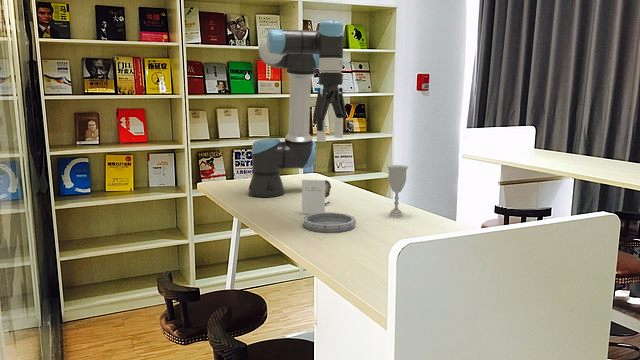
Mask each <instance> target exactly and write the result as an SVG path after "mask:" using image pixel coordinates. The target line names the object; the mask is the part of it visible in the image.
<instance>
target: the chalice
mask: <svg viewBox="0 0 640 360" xmlns="http://www.w3.org/2000/svg"><path fill="white" fill-rule="evenodd" d="M408 168H409V166H408V165H405V164H404V165H402V164H391V165H390V164H389V165H387V170H388V179H387V180H388V183H389V186H390V188H391V190H392V192H393V193H394V197H393V198H394V202H393V203H394V208H393V209H392V210H390V213H389V215H388V217H389V218H393V219H400V218H403V217H404V215H403V212H402V211H401V209H399V207H398V206H399V199H400V197H399V194H400V193H401V192H402V190H403V189H404V187H405V184H406V182H407V170H408Z"/></svg>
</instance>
